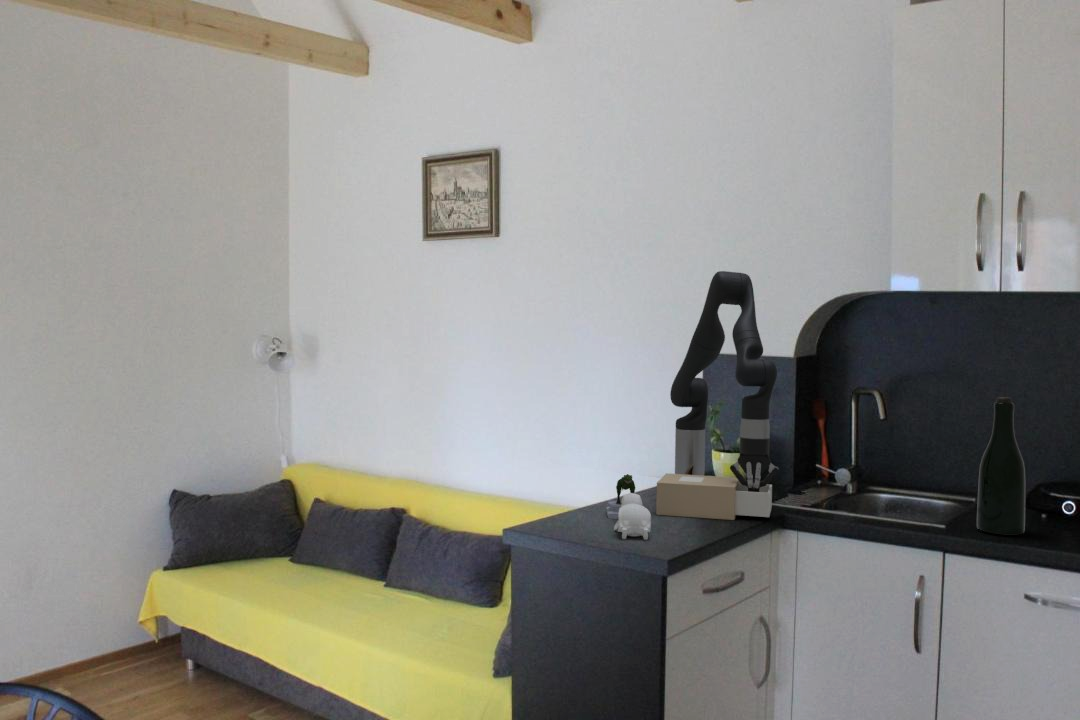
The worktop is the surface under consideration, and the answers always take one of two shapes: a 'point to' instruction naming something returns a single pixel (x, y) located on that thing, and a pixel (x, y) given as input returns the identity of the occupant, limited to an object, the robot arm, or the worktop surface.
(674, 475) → the sleeve
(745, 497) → the tray
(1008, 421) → the beer bottle
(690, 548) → the worktop surface
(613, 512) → the dinosaur figurine
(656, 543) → the worktop surface
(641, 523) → the white animal figurine
